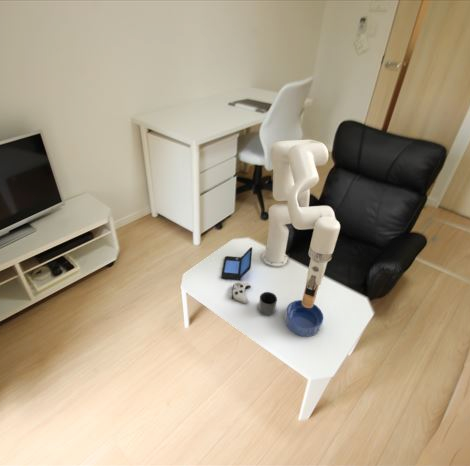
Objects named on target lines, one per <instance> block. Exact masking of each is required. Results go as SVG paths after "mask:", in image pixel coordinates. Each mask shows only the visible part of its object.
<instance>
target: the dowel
mask: <svg viewBox="0 0 470 466" xmlns="http://www.w3.org/2000/svg"><path fill="white" fill-rule="evenodd" d="M307 285H308V282H307V281H306V282H305V286H304V291H303V295H302V298H301V300H302V305H303V306H304V307H306V308H312V307H313V305H314V304H315V302H316V297H317V294H318V291H319V287H320V286H318V285H316V287H315V288H316V290H315V294H314V296H310V295H307V294H305V291H306V287H307ZM309 285H310V284H309ZM314 285H315V284H314ZM314 285H313V286H314Z"/></svg>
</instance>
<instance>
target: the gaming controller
mask: <svg viewBox="0 0 470 466" xmlns="http://www.w3.org/2000/svg"><path fill="white" fill-rule="evenodd" d="M249 289H251V284H250V283H248V282H243V281H241V282H235V283H233V285H232V291H231V299H232V300H233V301H234V300H235V301H238V302H240V303H242V304H245V305H248V304H249V303H250V300H249V299H248V297H247V295H246V294H245V293H246V290H249Z"/></svg>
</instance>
